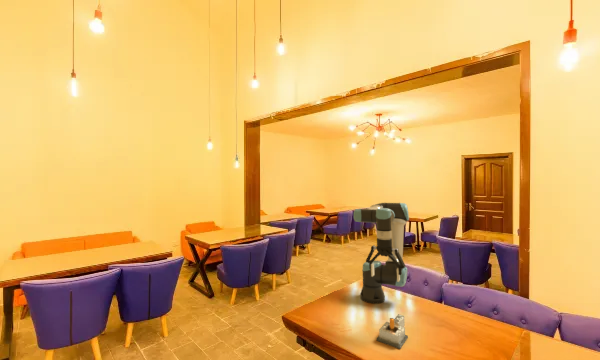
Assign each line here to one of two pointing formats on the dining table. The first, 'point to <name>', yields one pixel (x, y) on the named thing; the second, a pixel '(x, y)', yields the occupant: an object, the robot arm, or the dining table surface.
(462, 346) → the dining table surface
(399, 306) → the dining table surface
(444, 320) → the dining table surface
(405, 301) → the dining table surface
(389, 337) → the square loop with stem
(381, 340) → the peg on square plate
